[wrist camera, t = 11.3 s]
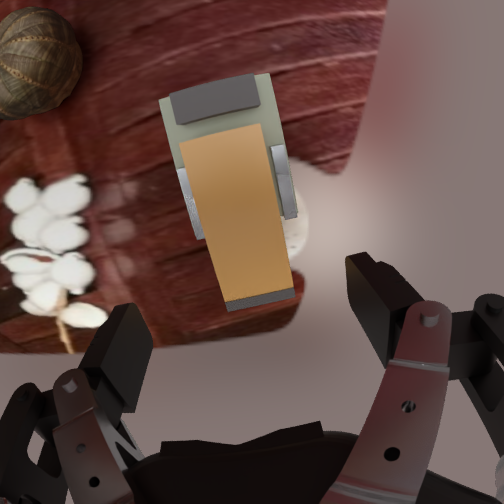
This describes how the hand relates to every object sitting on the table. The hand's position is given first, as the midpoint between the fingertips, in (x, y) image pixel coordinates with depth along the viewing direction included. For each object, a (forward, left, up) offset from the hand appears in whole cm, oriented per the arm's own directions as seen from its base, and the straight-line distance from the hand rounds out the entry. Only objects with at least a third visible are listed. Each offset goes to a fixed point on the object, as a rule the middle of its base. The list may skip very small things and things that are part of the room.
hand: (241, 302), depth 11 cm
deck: (-4, 0, -20) cm, 20 cm away
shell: (-19, -16, -20) cm, 32 cm away
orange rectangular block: (0, 0, -15) cm, 15 cm away
